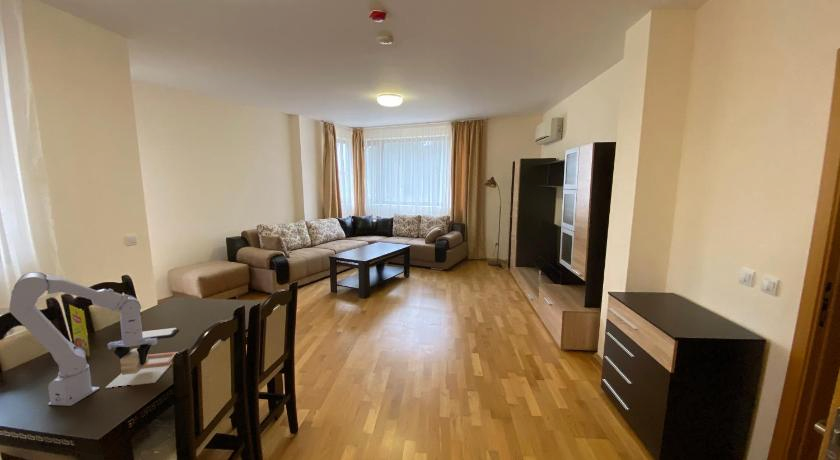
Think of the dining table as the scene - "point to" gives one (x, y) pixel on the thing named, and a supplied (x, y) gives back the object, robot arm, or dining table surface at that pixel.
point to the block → (131, 362)
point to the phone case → (160, 333)
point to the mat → (142, 374)
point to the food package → (79, 329)
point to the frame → (160, 356)
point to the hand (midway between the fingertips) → (135, 364)
